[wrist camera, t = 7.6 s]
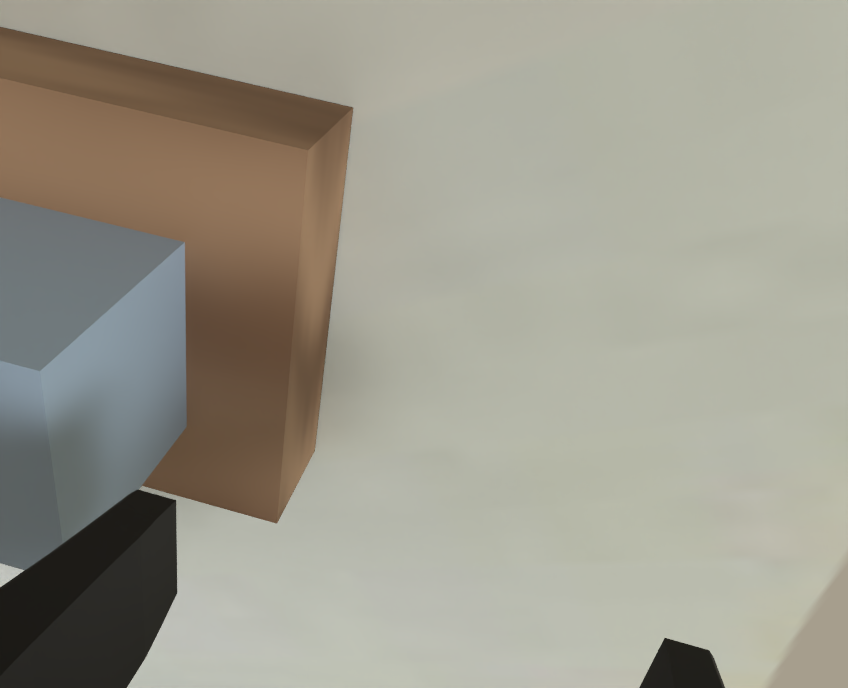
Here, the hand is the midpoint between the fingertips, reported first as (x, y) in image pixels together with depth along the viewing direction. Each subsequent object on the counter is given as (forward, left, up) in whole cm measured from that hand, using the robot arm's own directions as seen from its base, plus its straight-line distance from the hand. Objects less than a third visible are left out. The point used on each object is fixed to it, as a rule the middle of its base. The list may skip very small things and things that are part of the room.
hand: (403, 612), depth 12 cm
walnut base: (-1, +9, -9) cm, 13 cm away
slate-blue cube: (-1, +9, -6) cm, 11 cm away
